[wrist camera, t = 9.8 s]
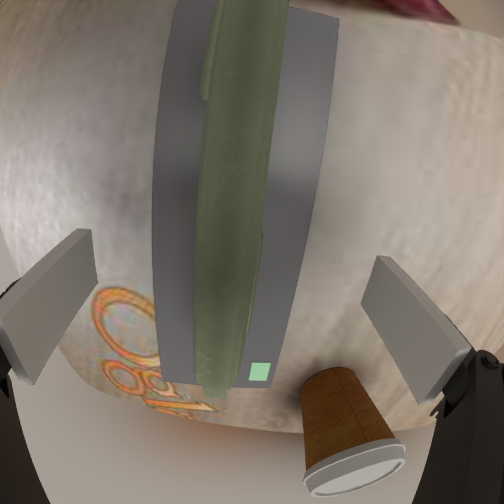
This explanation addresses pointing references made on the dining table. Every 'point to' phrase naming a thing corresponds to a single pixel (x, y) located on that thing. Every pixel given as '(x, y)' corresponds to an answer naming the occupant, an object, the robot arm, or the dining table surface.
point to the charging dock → (276, 193)
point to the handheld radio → (233, 181)
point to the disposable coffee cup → (344, 436)
